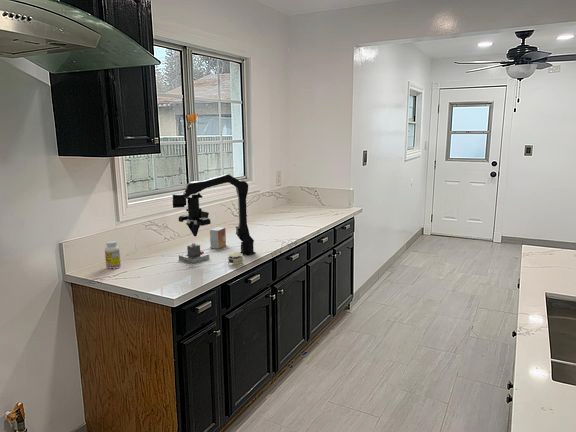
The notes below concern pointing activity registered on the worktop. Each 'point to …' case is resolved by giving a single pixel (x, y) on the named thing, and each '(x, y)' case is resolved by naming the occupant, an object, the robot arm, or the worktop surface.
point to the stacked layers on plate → (235, 259)
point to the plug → (193, 250)
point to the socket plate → (194, 258)
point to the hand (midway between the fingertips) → (195, 236)
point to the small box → (217, 237)
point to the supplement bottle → (112, 255)
